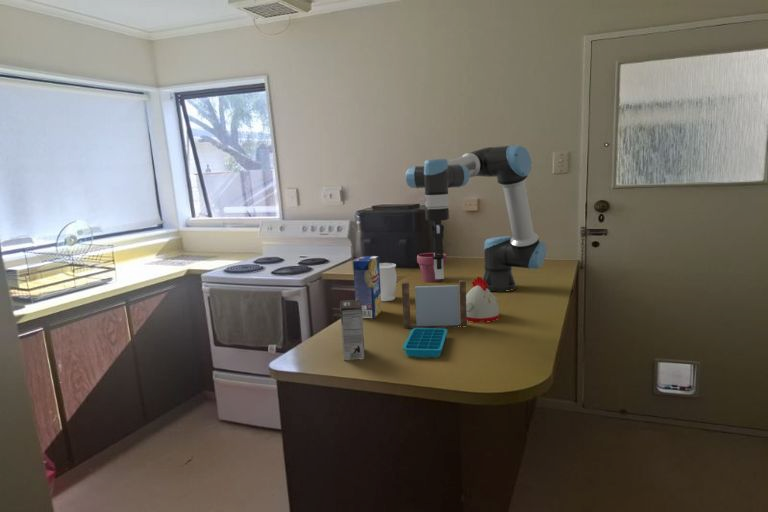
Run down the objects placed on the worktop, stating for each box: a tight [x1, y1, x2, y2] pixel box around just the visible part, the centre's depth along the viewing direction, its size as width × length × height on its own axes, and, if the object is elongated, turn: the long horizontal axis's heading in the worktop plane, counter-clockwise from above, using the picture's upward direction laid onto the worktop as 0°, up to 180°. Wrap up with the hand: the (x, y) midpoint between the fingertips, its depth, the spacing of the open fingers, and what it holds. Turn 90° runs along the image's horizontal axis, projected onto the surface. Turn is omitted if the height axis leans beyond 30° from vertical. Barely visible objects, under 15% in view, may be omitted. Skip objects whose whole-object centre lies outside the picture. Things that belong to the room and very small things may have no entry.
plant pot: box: [416, 252, 447, 283], centre depth 249 cm, size 14×14×13 cm
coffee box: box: [339, 299, 365, 361], centre depth 153 cm, size 9×6×16 cm
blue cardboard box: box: [352, 255, 383, 319], centre depth 194 cm, size 7×11×22 cm, turn 164°
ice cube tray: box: [402, 328, 448, 358], centre depth 158 cm, size 12×20×3 cm, turn 168°
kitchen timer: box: [466, 276, 500, 323], centre depth 185 cm, size 14×14×15 cm
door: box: [414, 284, 460, 326], centre depth 177 cm, size 15×3×14 cm, turn 86°
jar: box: [379, 262, 398, 302], centre depth 217 cm, size 11×10×15 cm
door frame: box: [401, 279, 468, 330], centre depth 176 cm, size 22×4×16 cm, turn 86°
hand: (438, 275), depth 167 cm, fingers open, 10 cm apart
